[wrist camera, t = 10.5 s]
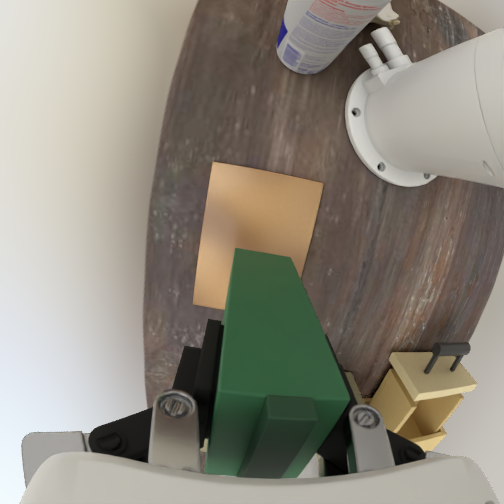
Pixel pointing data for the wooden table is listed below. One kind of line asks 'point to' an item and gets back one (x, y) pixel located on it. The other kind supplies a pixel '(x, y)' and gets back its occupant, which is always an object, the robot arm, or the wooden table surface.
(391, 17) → the bone
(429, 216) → the wooden table surface
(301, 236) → the cork mat
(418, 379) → the drawer
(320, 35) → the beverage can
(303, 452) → the green ridged block
